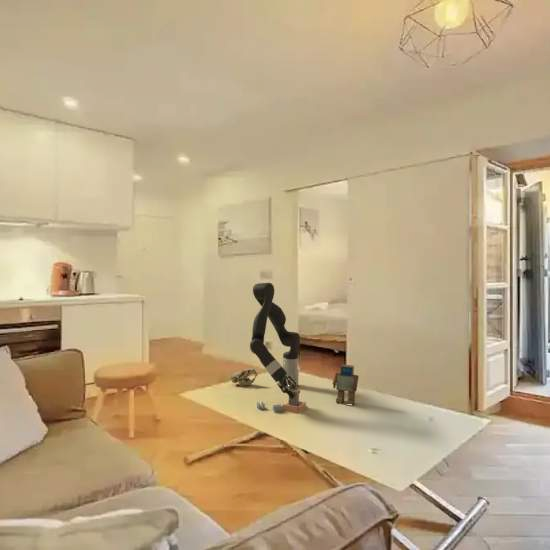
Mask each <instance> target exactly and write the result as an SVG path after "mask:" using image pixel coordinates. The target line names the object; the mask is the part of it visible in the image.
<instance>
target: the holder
mask: <svg viewBox="0 0 550 550" xmlns="http://www.w3.org/2000/svg"><path fill="white" fill-rule="evenodd" d="M281 406H283V408H282V412H287V413H288V412H289V413H293V414H294V413H295V414H299V413H301V412H302V413H303V412H304V411H305V410H306V409H307V408H308V405H307V402H306V401H302V400H299V406H292V405H289V399H288V402H287V403H283V404H281ZM303 410H304V411H303ZM302 413H301V414H302Z"/></svg>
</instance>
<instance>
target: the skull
mask: <svg viewBox="0 0 550 550" xmlns="http://www.w3.org/2000/svg"><path fill="white" fill-rule="evenodd" d="M252 374H253V375H254V377H253V378H252V379H250V377H249V376H251V375H252ZM257 377H258V373H257V371H256V370H255V368H245V369H241V370H238V371H236V372H234V373H232V374H231V376H230V380H232V381H231V382H232V383H233V384H236V385H237V386H240V387H244V386H245V385H248V386H250V385H252V384H253V383H254V382H255V380H256V378H257ZM245 387H246V386H245Z"/></svg>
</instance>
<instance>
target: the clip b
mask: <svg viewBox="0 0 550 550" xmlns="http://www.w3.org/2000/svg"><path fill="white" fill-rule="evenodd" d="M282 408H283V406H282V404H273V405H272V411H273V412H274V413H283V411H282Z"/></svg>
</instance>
